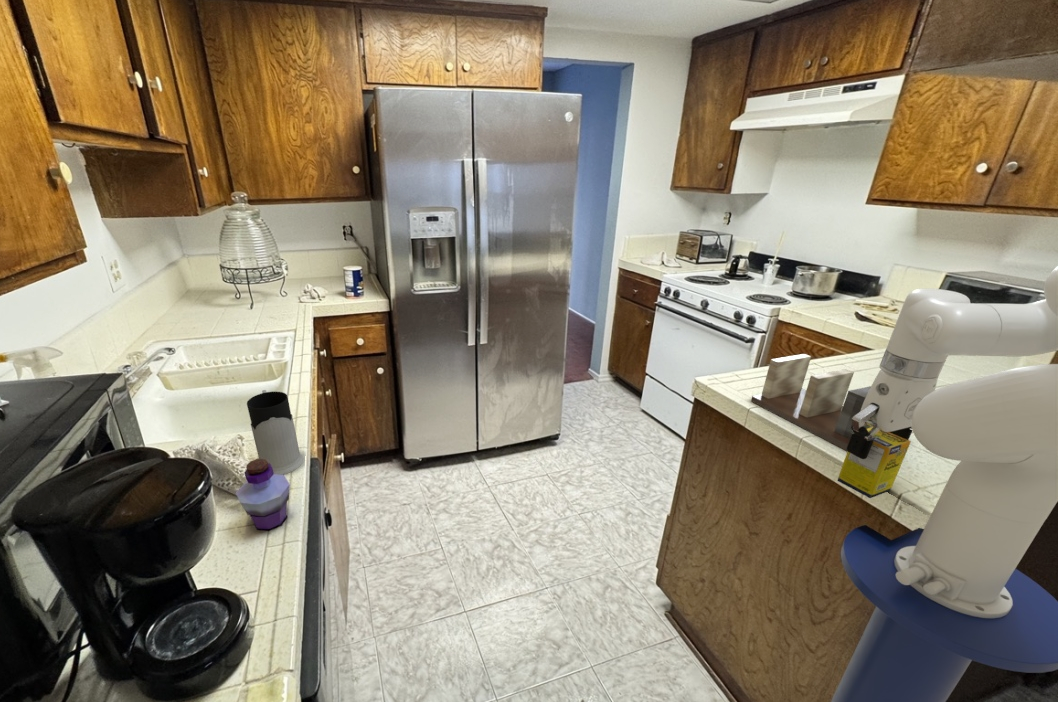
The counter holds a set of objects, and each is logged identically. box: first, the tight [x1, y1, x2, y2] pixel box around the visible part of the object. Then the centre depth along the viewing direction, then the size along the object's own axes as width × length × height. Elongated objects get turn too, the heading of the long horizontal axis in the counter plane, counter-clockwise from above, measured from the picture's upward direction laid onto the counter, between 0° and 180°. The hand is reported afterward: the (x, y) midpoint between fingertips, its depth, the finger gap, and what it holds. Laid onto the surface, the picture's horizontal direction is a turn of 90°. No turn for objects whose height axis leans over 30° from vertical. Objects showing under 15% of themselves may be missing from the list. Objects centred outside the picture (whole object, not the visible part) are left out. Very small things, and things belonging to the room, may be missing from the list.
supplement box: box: [837, 427, 911, 499], centre depth 86 cm, size 6×6×11 cm
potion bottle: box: [235, 458, 291, 532], centre depth 80 cm, size 9×9×12 cm
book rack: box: [750, 353, 877, 452], centre depth 109 cm, size 16×26×12 cm, turn 18°
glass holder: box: [246, 389, 304, 475], centre depth 97 cm, size 9×14×15 cm, turn 28°
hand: (875, 449), depth 85 cm, fingers open, 9 cm apart
